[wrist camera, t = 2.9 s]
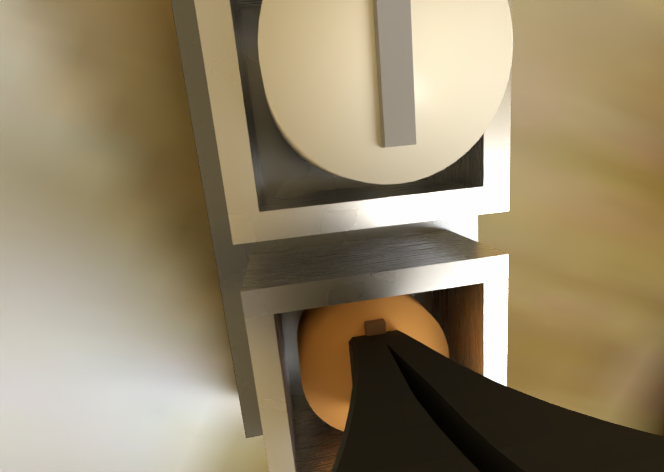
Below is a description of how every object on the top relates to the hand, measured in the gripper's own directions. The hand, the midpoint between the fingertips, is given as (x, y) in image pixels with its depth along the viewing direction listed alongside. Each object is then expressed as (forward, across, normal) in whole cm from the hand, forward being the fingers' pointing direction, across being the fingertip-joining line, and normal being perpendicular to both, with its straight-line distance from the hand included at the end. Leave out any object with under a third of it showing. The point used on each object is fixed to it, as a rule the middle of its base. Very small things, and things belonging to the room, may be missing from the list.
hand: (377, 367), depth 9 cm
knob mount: (+4, 0, -4) cm, 5 cm away
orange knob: (+2, 0, 0) cm, 2 cm away
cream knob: (-1, 0, -7) cm, 7 cm away
